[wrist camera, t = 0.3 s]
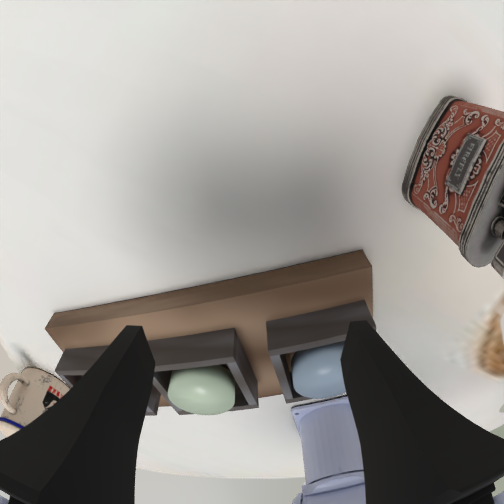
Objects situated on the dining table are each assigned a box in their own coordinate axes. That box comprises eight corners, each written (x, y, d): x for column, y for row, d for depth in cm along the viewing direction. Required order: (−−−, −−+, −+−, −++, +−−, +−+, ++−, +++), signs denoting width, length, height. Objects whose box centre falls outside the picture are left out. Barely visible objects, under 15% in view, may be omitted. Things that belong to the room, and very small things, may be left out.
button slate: (357, 370, 21) (362, 389, 20) (296, 384, 22) (298, 403, 20) (356, 329, 19) (364, 349, 17) (285, 345, 19) (287, 367, 18)
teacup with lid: (92, 411, 32) (71, 486, 22) (43, 401, 33) (19, 466, 23) (47, 352, 26) (8, 440, 16) (-1, 344, 26) (-40, 416, 16)
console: (364, 358, 26) (377, 398, 22) (117, 392, 29) (107, 426, 25) (362, 249, 20) (386, 291, 16) (53, 313, 23) (32, 349, 19)
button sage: (242, 392, 22) (242, 411, 21) (186, 398, 23) (183, 416, 21) (223, 356, 20) (222, 377, 18) (160, 364, 20) (156, 383, 19)
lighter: (440, 85, 14) (567, 116, 5) (474, 112, 15) (589, 159, 6) (391, 194, 18) (483, 290, 9) (427, 212, 18) (515, 305, 10)
